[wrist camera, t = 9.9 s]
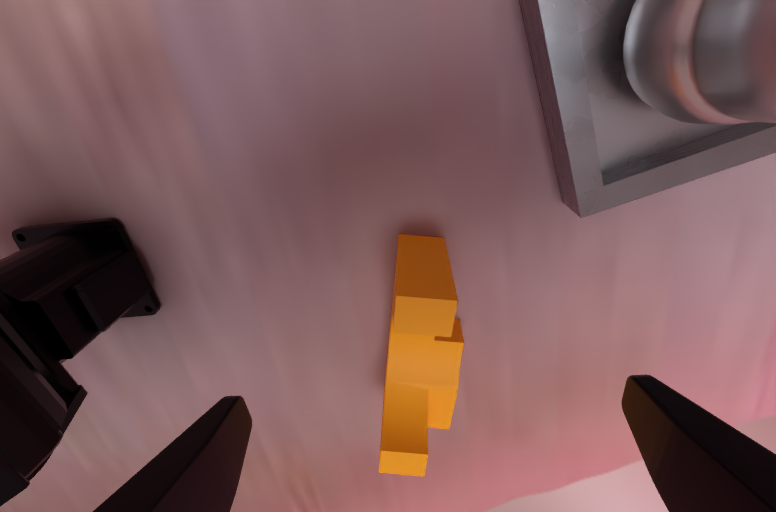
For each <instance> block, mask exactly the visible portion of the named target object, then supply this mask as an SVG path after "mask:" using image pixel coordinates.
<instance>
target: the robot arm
mask: <svg viewBox="0 0 776 512" xmlns="http://www.w3.org/2000/svg"><path fill="white" fill-rule="evenodd" d="M109 225H110V226H111V227H112V228H113V230H112V229H111V228H110V226H109ZM12 237H13V239H14V241H15V242H16V244H17V245H18V247H19V248H20V251H18V252H16V253H14V254H12V255H10V256H8V257H5V258H3V259H1V260H0V506H1V505H3V504H4V503H6V502H7V501H9V500H10V499H11V498H13V497H14V496H16V495H17V494H19V493H20V492H22V491H23V490H24V489H26V488H27V487H28V485H29V484H30V482H29V481H30V480H31V479H32V478H33V477H34V476H35V475H36V474H37V473H38V472H39V471H40V469H41V468H42V467H43V466H44V465H45V463H46V462H47V460H48V459H49V458H50V456H51V454H52V453H53V451H54V449H55V448H56V447H57V446H58V444H59V443H60V441H61V439H62V437H63V434H64V432H65V431H66V429H67V427H68V426H69V424H70V422H71V420H72V419H73V417H74V415H75V414H76V412H77V410H78V409H79V407H80V405H81V404H82V402H83V400H84V399H85V397H86V395H87V391H86V390H85V389H84V388H83V387H82V385H78V384H77V383H76V381H75V380H74V379H73V378H72V376H71V375H70V374H69V373H68V371H67V370H66V369H65V368H64V367H63V365H62V363H63V362H64V361H66V360H67V359H71V358H73V357H74V356H75V355H76V354H78V353H79V352H80V351H81V350H82V349H83V348H84V347H85V346H87V345H88V344H89V343H90V342H91V341H92V340H93V339H95V338H96V337H97V336H98V335H99V334H100V333H101V332H104V331H106V330H107V329H108V328H109V327H110V326H111V325H112V324H114V323H115V322H116V321H117V320H118V319H119V318H122V317H135V316H148V315H154V314H155V313H157V312H158V311H159V310H160V304H159V302H158V300H157V298H156V296H155V294H154V292H153V290H152V287H151V285H150V283H149V281H148V279H147V277H146V275H145V273H144V271H143V269H142V267H141V264H140V262H139V260H138V258H137V256H136V254H135V252H134V250H133V248H132V246H131V244H130V241H129V239H128V237H127V235H126V233H125V231H124V229H123V227H122V225H121V224H120V222H119V221H117V220H115V219H113V218H108V219H98V220H88V221H78V222H68V223H58V224H48V225H38V226H28V227H21V228H19V229H16V230H14V231H13V232H12ZM149 306H150V307H149ZM151 307H152V308H151ZM622 409H623V412H624V415H625V417H626V419H627V422H628V424H629V427H630V429H631V431H632V434H633V436H634V438H635V441H636V443H637V445H638V448H639V450H640V453H641V455H642V457H643V460H644V462H645V464H646V467H647V469H648V471H649V474H650V476H651V478H652V480H653V482H654V484H655V486H656V488H657V490H658V492H659V494H660V496H661V498H662V500H663V501H664V503H665V505H666V507H667V509H668V511H669V512H776V454H774V453H773V452H771V451H770V450H768V449H766V448H765V447H763V446H762V445H760V444H758V443H757V442H755V441H754V440H752V439H751V438H749V437H747V436H746V435H744V434H743V433H741V432H740V431H738V430H736V429H735V428H733V427H732V426H730V425H729V424H727V423H725V422H724V421H722V420H721V419H719V418H717V417H716V416H714V415H713V414H711V413H710V412H708V411H706V410H705V409H703V408H702V407H700V406H698V405H697V404H695V403H694V402H692V401H691V400H689V399H687V398H686V397H684V396H683V395H681V394H679V393H678V392H676V391H675V390H673V389H672V388H670V387H668V386H667V385H665V384H664V383H662V382H661V381H659V380H657V379H656V378H654V377H652V376H650V375H631V376H629V377H628V378H627V381H626V385H625V389H624V393H623V397H622ZM251 428H252V419H251V416H250V413H249V411H248V408H247V406H246V403H245V401H244V399H243V397H241V396H226V397H224V398H222V399H221V400H220V401H218V402H217V403H216V404H215V405H214V406H213V407H212V408H210V409H209V410H208V411H207V412H206V413H205V414H204V415H202V416H201V417H200V418H199V419H198V420H197V421H196V422H194V423H193V424H192V425H191V426H190V427H189V428H188V429H186V430H185V431H184V432H183V433H182V434H181V435H180V436H178V437H177V438H176V439H175V440H174V441H173V442H172V443H171V444H169V445H168V446H167V447H166V448H165V449H164V450H163V451H161V452H160V453H159V454H158V455H157V456H156V457H155V458H153V459H152V460H151V461H150V462H149V463H148V464H147V465H145V466H144V467H143V468H142V469H141V470H140V471H139V472H137V473H136V474H135V475H134V476H133V477H132V478H131V479H129V480H128V481H127V482H126V483H125V484H124V485H123V486H121V487H120V488H119V489H118V490H117V491H116V492H115V493H113V494H112V495H111V496H110V497H109V498H108V499H107V500H105V501H104V502H103V503H102V504H101V505H100V506H99V507H97V508H96V509H95V510H94V511H93V512H230V509H231V506H232V503H233V500H234V497H235V494H236V490H237V487H238V483H239V479H240V475H241V470H242V466H243V462H244V458H245V454H246V449H247V445H248V441H249V437H250V433H251Z"/></svg>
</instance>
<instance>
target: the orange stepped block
mask: <svg viewBox="0 0 776 512" xmlns="http://www.w3.org/2000/svg"><path fill="white" fill-rule="evenodd" d="M457 304H458V298H457V294H456V289H455V285H454V280H453V276H452V271H451V267H450V262H449V257H448V253H447V248H446V244H445V239H444V238H441V237H429V236H417V235H405V234H399V237H398V248H397V259H396V269H395V280H394V290H393V301H392V311H391V322H390V332H389V343H388V354H387V364H386V375H385V385H384V400H383V415H382V430H381V445H380V460H379V473H389V474H401V475H412V476H423V477H424V475H425V470H426V464H427V459H428V428H439V429H449V428H450V423H451V419H452V414H453V410H454V405H455V401H456V396H457V392H458V381H459V370H460V362H461V356H462V351H463V346H464V339H463V335H462V330H461V325H460V320H459V319H455V314H456V309H457Z"/></svg>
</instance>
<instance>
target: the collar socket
mask: <svg viewBox="0 0 776 512" xmlns="http://www.w3.org/2000/svg"><path fill="white" fill-rule="evenodd" d="M635 1H636V0H519V2H520V6H521V11H522V16H523V20H524V25H525V30H526V34H527V39H528V43H529V48H530V53H531V57H532V62H533V67H534V71H535V76H536V80H537V85H538V90H539V94H540V99H541V104H542V108H543V113H544V117H545V122H546V127H547V131H548V136H549V141H550V145H551V150H552V154H553V159H554V164H555V168H556V173H557V178H558V182H559V187H560V191H561V196H562V201H563V203H564V204H566V205H567V206H568V207H569V208H570V209H571V210H572V211H574V212H575V213H576V214H577V215H578V216H579V217H580V218H582V217H585V216H588V215H591V214H594V213H597V212H600V211H603V210H606V209H609V208H612V207H615V206H618V205H621V204H624V203H627V202H630V201H633V200H636V199H639V198H642V197H645V196H648V195H651V194H654V193H657V192H660V191H663V190H666V189H668V188H671V187H674V186H677V185H680V184H683V183H686V182H689V181H692V180H695V179H698V178H701V177H704V176H707V175H710V174H713V173H716V172H719V171H722V170H725V169H728V168H731V167H734V166H737V165H740V164H743V163H746V162H749V161H752V160H755V159H758V158H761V157H764V156H767V155H770V154H773V153H776V123H767V122H750V123H739V124H727V125H718V124H694V123H686V122H681V121H678V120H675V119H673V118H670V117H668V116H666V115H664V114H662V113H661V112H659V111H657V110H655V109H654V108H652V107H651V106H649V105H648V104H646V103H645V102H644V101H642V100H641V99H640V98H639V97H638V95H637V94H636V93H635V92H634V90H633V89H632V87H631V85H630V83H629V80H628V78H627V76H626V71H625V66H624V62H623V43H624V37H625V31H626V25H627V22H628V19H629V16H630V13H631V10H632V7H633V5H634V3H635Z"/></svg>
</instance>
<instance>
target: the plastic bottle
mask: <svg viewBox="0 0 776 512" xmlns="http://www.w3.org/2000/svg"><path fill="white" fill-rule="evenodd" d="M623 62H624V66H625V71H626V76H627V78H628V80H629V83H630V85H631V87H632V89H633V90H634V92H635V93H636V94H637V95H638V97H639V98H640V99H641V100H642V101H644V102H645V103H646V104H648V105H649V106H651V107H652V108H654V109H655V110H657V111H659V112H661V113H662V114H664V115H666V116H668V117H670V118H673V119H675V120H678V121H681V122H686V123H694V124H718V125H727V124H739V123H750V122H767V123H776V0H636V1H635V3H634V5H633V7H632V10H631V13H630V16H629V19H628V22H627V25H626V31H625V37H624V43H623Z"/></svg>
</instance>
